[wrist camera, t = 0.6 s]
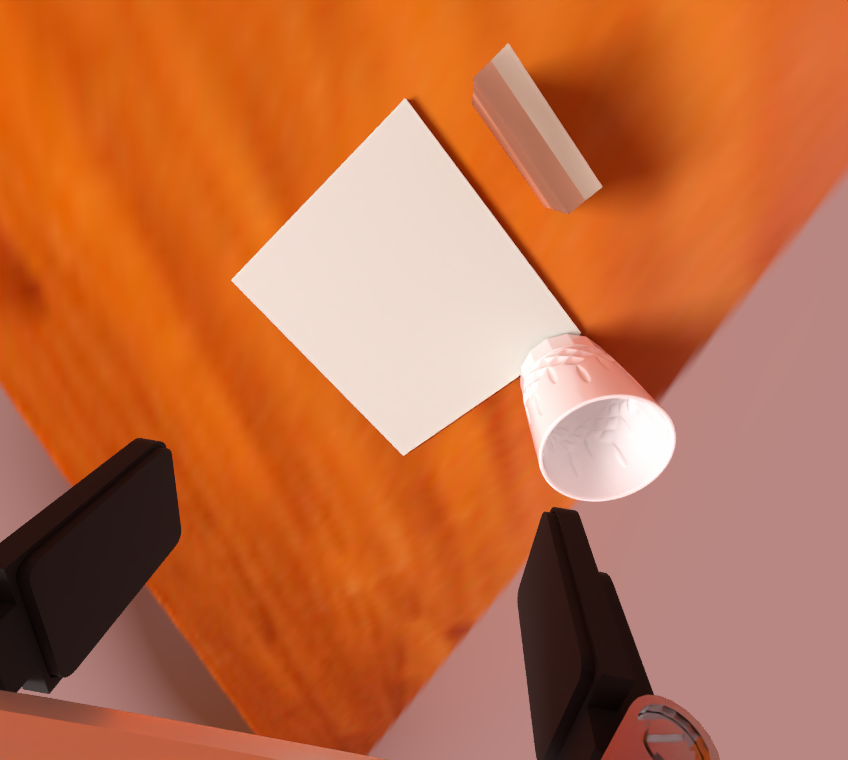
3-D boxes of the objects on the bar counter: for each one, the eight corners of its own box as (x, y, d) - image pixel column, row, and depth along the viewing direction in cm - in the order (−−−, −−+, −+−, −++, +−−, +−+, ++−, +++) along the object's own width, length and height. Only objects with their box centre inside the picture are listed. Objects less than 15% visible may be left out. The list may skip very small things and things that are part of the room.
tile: (497, 80, 28) (508, 43, 20) (569, 185, 30) (602, 186, 22) (472, 104, 28) (473, 77, 21) (544, 206, 30) (568, 213, 23)
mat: (406, 99, 28) (405, 97, 28) (579, 330, 34) (581, 333, 33) (234, 278, 34) (231, 280, 34) (404, 452, 39) (403, 455, 39)
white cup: (542, 310, 32) (583, 375, 23) (634, 346, 33) (706, 421, 25) (495, 396, 36) (515, 480, 27) (580, 426, 37) (625, 515, 28)
